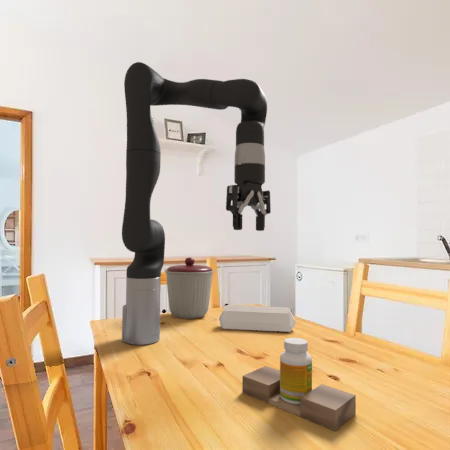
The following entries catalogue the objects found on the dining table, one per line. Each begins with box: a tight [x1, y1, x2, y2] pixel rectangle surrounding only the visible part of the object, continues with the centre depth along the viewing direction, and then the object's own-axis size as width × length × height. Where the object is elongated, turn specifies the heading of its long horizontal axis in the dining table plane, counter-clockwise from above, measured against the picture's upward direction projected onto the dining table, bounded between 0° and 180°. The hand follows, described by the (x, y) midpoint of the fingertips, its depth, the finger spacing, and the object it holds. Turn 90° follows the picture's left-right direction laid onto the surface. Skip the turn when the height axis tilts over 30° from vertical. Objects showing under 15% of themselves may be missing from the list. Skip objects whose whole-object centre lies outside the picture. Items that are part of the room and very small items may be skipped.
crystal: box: [218, 304, 296, 333], centre depth 109 cm, size 7×7×24 cm
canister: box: [164, 257, 215, 320], centre depth 125 cm, size 18×18×21 cm
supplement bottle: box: [279, 337, 313, 405], centre depth 59 cm, size 5×5×10 cm
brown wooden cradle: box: [241, 365, 357, 432], centre depth 59 cm, size 7×18×3 cm, turn 46°
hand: (249, 230), depth 85 cm, fingers open, 8 cm apart
